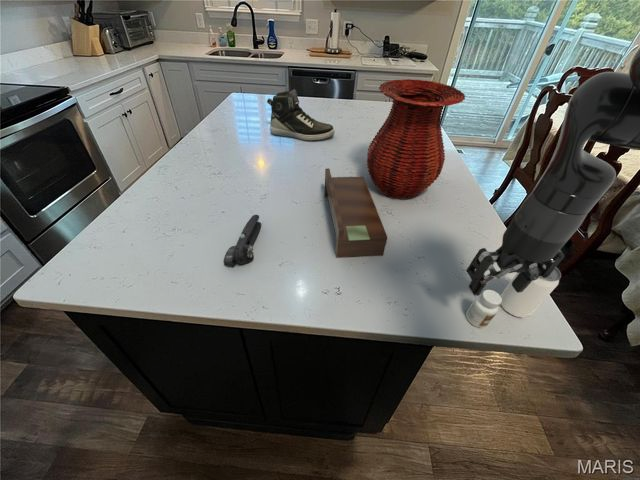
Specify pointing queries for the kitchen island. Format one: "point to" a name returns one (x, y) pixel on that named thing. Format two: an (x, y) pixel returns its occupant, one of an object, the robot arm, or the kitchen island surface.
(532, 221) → the robot arm
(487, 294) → the pill bottle
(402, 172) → the vase
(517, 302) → the can
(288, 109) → the athletic shoe
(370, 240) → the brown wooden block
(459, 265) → the kitchen island surface
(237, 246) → the can opener
